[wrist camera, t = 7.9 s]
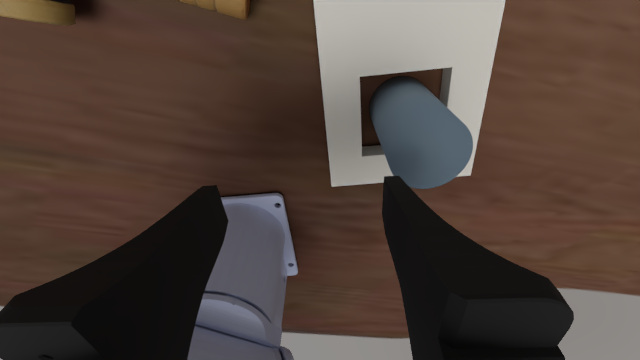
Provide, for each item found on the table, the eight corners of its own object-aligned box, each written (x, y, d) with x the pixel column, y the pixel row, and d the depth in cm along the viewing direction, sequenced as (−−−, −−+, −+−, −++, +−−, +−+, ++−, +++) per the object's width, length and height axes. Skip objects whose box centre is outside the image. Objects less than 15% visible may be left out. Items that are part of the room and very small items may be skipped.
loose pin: (432, 73, 19) (481, 111, 13) (425, 131, 21) (464, 186, 15) (369, 78, 19) (390, 117, 13) (368, 135, 22) (386, 190, 16)
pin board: (462, 164, 23) (470, 175, 22) (331, 176, 23) (331, 186, 22) (554, -356, 11) (585, -400, 10) (284, -307, 12) (279, -343, 10)
